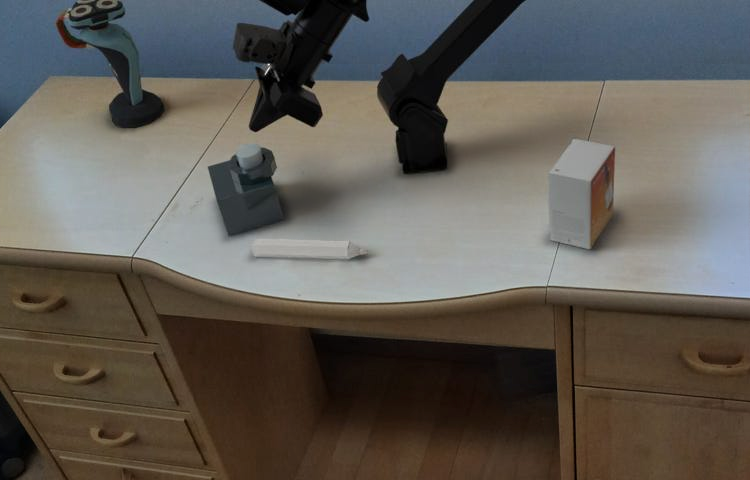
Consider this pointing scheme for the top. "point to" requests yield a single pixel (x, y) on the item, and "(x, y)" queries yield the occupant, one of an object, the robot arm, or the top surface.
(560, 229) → the small box
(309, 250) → the pale grey rod
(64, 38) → the electric shaver
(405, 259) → the top surface
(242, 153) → the pale grey disc
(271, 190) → the push button box
